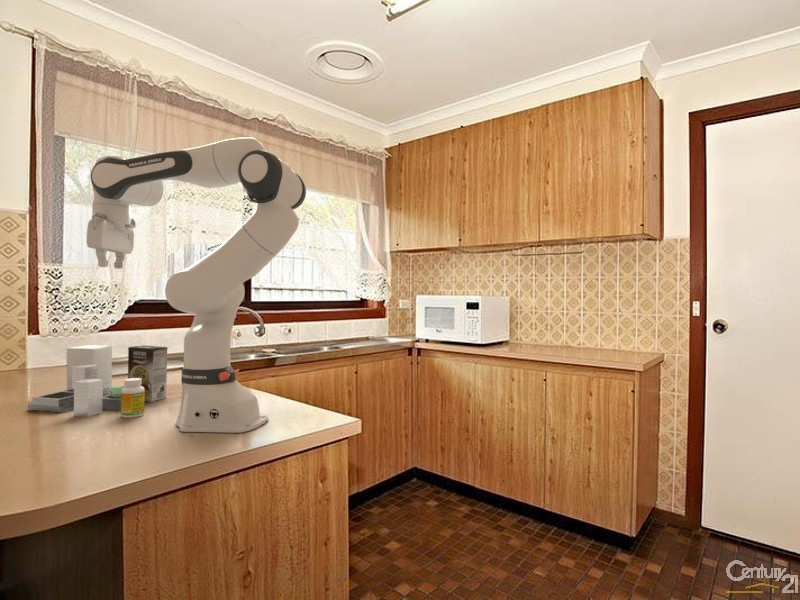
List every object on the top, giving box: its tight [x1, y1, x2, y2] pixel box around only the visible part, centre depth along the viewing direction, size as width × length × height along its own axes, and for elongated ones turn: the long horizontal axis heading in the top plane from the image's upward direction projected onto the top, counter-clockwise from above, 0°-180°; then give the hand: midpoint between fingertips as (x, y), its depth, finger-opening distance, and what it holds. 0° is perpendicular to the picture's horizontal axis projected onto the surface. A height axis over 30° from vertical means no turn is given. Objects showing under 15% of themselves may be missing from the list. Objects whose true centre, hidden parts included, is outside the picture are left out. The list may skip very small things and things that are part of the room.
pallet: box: [27, 364, 110, 414], centre depth 132 cm, size 11×17×10 cm, turn 169°
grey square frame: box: [103, 393, 121, 412], centre depth 131 cm, size 8×8×3 cm
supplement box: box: [66, 344, 113, 392], centre depth 147 cm, size 9×9×15 cm
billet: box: [73, 379, 104, 418], centre depth 122 cm, size 4×4×9 cm
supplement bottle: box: [120, 378, 145, 419], centre depth 122 cm, size 5×5×10 cm
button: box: [109, 385, 125, 398], centre depth 131 cm, size 4×4×3 cm
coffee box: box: [127, 345, 168, 403], centre depth 141 cm, size 9×6×16 cm
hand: (111, 267), depth 125 cm, fingers open, 8 cm apart
